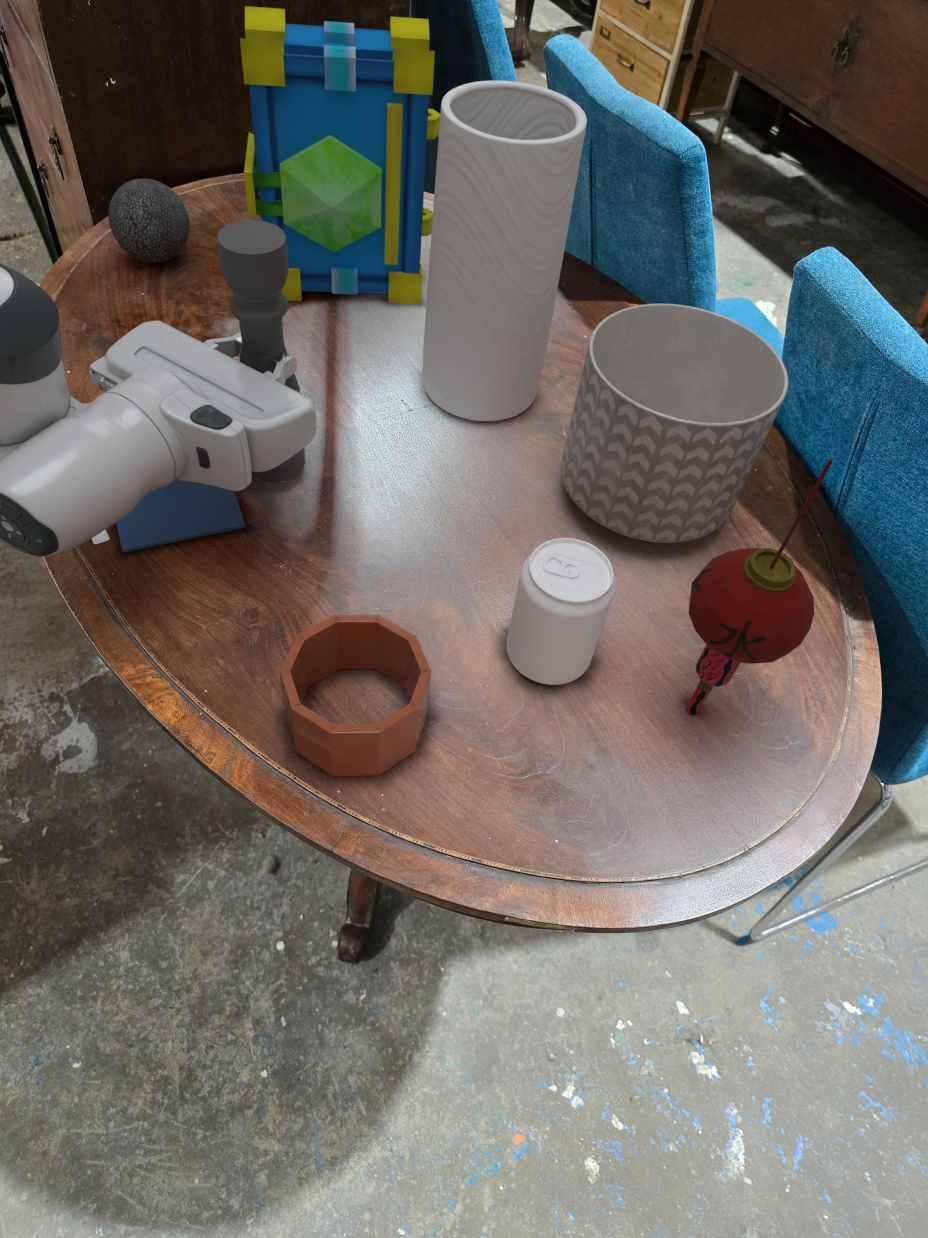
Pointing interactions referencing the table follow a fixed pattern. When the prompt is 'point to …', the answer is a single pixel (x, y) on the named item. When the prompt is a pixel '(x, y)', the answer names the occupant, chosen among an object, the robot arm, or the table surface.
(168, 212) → the decorative ball
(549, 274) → the vase
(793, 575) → the lantern
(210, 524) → the blue cloth
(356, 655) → the terracotta pot
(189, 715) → the table surface
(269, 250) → the candle holder
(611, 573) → the beverage can
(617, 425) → the planter
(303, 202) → the decorative book
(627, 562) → the table surface
